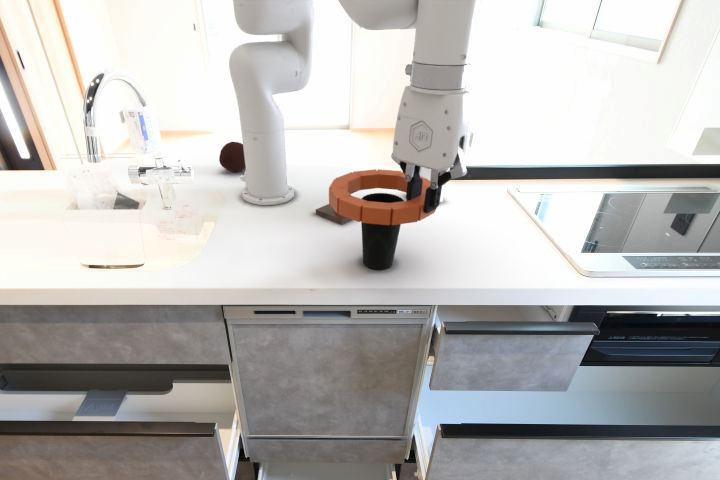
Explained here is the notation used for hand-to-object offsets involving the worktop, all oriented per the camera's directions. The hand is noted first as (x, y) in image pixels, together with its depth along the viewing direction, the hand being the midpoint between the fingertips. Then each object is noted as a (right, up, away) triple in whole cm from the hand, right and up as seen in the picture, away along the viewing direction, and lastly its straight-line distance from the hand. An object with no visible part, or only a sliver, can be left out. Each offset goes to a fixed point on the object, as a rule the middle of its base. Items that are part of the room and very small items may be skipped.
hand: (421, 206), depth 72 cm
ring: (-6, +2, +5) cm, 8 cm away
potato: (-42, +24, +51) cm, 70 cm away
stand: (-13, +7, +30) cm, 33 cm away
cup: (-6, -7, +12) cm, 15 cm away
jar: (+8, +12, +38) cm, 40 cm away
